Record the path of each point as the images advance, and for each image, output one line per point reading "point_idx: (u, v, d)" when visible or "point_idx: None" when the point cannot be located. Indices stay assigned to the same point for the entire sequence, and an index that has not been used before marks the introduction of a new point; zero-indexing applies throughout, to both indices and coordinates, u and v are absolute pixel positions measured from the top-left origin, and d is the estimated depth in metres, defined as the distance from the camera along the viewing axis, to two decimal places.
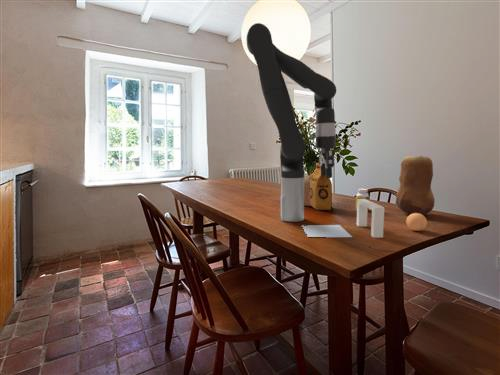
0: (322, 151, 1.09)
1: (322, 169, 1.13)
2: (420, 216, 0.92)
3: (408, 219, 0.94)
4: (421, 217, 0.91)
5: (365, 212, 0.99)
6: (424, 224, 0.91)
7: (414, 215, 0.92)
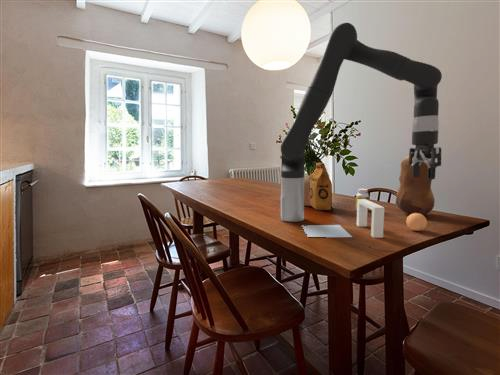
0: (419, 148, 0.95)
1: (415, 169, 0.99)
2: (420, 216, 0.92)
3: (408, 219, 0.94)
4: (421, 217, 0.91)
5: (365, 212, 0.99)
6: (424, 224, 0.91)
7: (414, 215, 0.92)
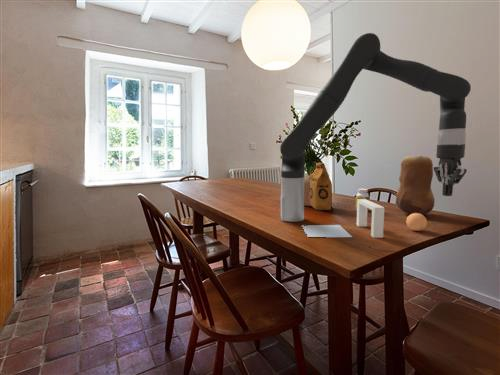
0: (444, 162, 0.92)
1: None
2: (420, 216, 0.92)
3: (408, 219, 0.94)
4: (421, 217, 0.91)
5: (365, 212, 0.99)
6: (424, 224, 0.91)
7: (414, 215, 0.92)
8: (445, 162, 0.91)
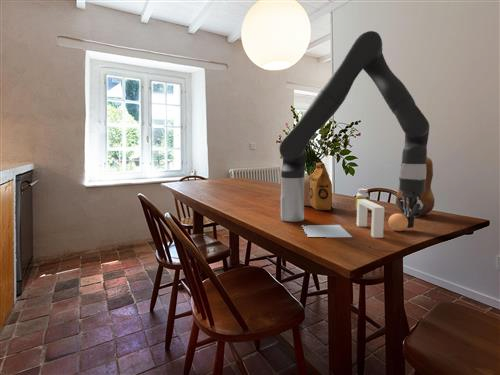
0: (406, 194, 0.94)
1: None
2: (394, 225, 0.92)
3: None
4: (395, 224, 0.92)
5: (365, 212, 0.99)
6: (402, 221, 0.91)
7: (393, 228, 0.93)
8: (407, 195, 0.93)
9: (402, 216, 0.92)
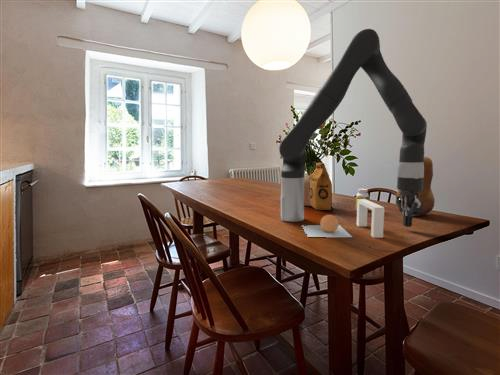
0: (404, 193, 0.93)
1: None
2: (332, 231, 0.92)
3: None
4: (331, 231, 0.92)
5: (365, 212, 0.99)
6: (329, 225, 0.91)
7: None
8: (405, 193, 0.93)
9: (323, 223, 0.92)
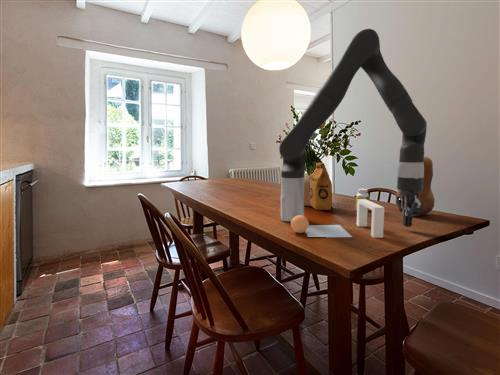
0: (404, 193, 0.93)
1: None
2: (298, 219, 0.91)
3: (291, 225, 0.93)
4: (299, 219, 0.91)
5: (365, 212, 0.99)
6: (304, 225, 0.91)
7: (293, 219, 0.92)
8: (405, 193, 0.93)
9: (308, 224, 0.92)
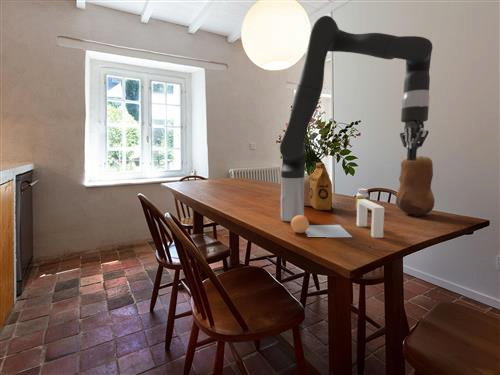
0: (408, 126, 0.90)
1: None
2: (298, 219, 0.91)
3: (291, 225, 0.93)
4: (299, 219, 0.91)
5: (365, 212, 0.99)
6: (304, 225, 0.91)
7: (293, 219, 0.92)
8: (409, 126, 0.90)
9: (308, 224, 0.92)
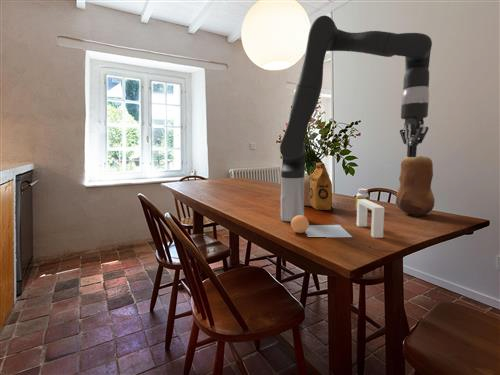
0: (408, 122, 0.90)
1: None
2: (298, 219, 0.91)
3: (291, 225, 0.93)
4: (299, 219, 0.91)
5: (365, 212, 0.99)
6: (304, 225, 0.91)
7: (293, 219, 0.92)
8: (409, 122, 0.90)
9: (308, 224, 0.92)
